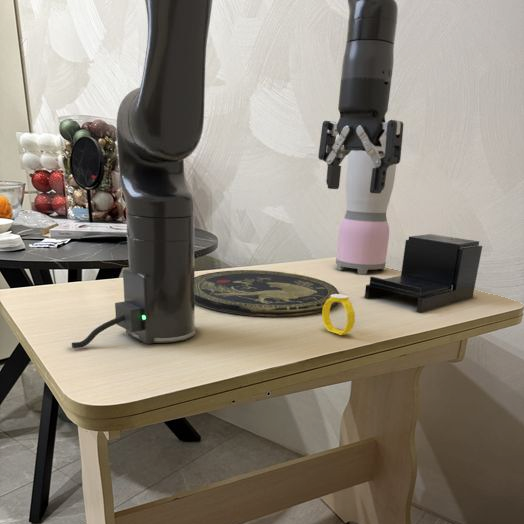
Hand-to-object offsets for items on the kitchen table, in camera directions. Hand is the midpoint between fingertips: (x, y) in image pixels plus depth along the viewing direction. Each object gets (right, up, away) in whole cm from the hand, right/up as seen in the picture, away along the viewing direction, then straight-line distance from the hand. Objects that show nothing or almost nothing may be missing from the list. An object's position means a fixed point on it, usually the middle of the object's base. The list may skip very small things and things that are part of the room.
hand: (353, 191), depth 84 cm
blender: (+11, -5, +47) cm, 49 cm away
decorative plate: (-15, -15, +18) cm, 28 cm away
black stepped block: (+18, -15, +22) cm, 32 cm away
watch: (-3, -23, -3) cm, 24 cm away
